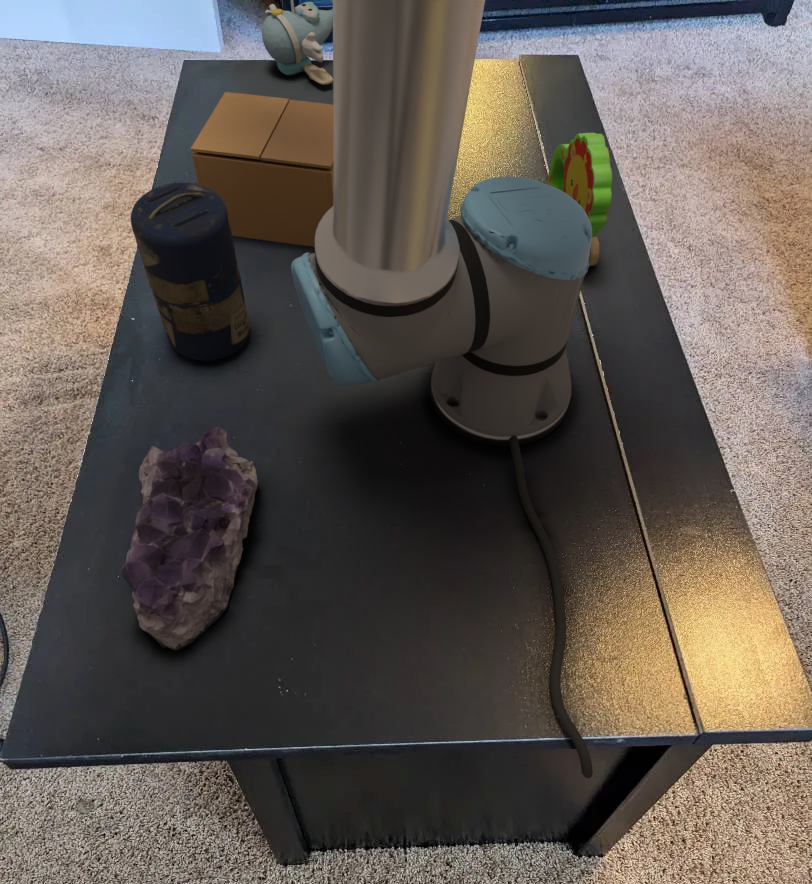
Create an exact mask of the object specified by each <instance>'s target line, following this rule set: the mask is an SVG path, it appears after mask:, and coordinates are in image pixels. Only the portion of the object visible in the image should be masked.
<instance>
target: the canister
mask: <svg viewBox="0 0 812 884" xmlns="http://www.w3.org/2000/svg"><path fill="white" fill-rule="evenodd" d="M130 225H131V230H132V233H133V236H134V239H135V243H136V245H137V249H138V253H139V256H140V259H141V262H142V265H143V268H144V271H145V275H146V276H145V277H146V278H147V281H148V285H149V287H150V289H151V291H152V294H153V298H154V301H155V303H156V307H157V309H158V314H159V316H160V320H161V322H162V323H161V324H162V325H163V329H164V332H165V335H166V338H167V340H168V343H169V344H170V346H171V347H172V348H173V349H174V350H175V351H176V352H177V353H179V355H182V356H183V357H186V358H188V359H191V360H196V361H215V360H221V359H224V358H226V357H229V356H230V355H232V354H235V352H237V351H238V350H240V349H241V348H242V346H244V344H245V343H246V342H247V339H248V337H249V334H250V327H251V325H250V320H249V316H248V312H247V311H248V310H247V306H246V300H245V294H244V289H243V282H242V277H241V272H240V267H239V264H238V258H237V253H236V248H235V243H234V237H233V236H232V233H231V227H230V222H229V219H228V212H227V209H226V206H225V203H224V202H223V200H222V199H221V197H220V196H219V195H218V194H217V193H216V192H214V191H213V190H211V189H210V188H207V187H205V186H202V185H199V184H198V183H193V182H171V183H167V184H163V185H160V186H157V187H153V189H150V190H149V191H147V192H145V193H144V194H143V195H141V196H140V197H139V198H138V199H137V200H136V202H135V203H134V204H133V207H132V210H131V212H130Z"/></svg>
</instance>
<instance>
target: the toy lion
mask: <svg viewBox="0 0 812 884" xmlns="http://www.w3.org/2000/svg"><path fill="white" fill-rule="evenodd" d="M548 169H549V170H548V174H547V180H546V184H548V185H551V186H553V187H555V188H557V189H559V190H561V191H563V192H565V193H566V194H567V195H569V196H570V197H572V198H573V199H574V200H575V201H576V202H577V203H578V204H579V205H580V206H581V207H582V208H583V209H584V211H585V212H586V214H587V216H588V218H589V220H590V223H591V227H592V242H591V248H590V255H589V267H592V266H596V265H597V264H598V262H599V259H600V242H599V238H598V237H597V236H598V235H599V234H600V231H601V230H603V229H604V228H605V227H606V223H607V220H608V212H609V211H610V208H611V205H612V200H613V199H612V198H613V197H612V194H613V193H612V185H613V170H612V167H611V157H610V151H609V148H608V147H607V146H606V139H605V136H604V134H603V133H596V132H583V133H576V134H575V136H574V137H573V139H571V140H570V141H569V143H562V144H561V143H560V144H559V145H557V146H556V148H555V150H554V151H553V154H552V157H551V161H550V165H549V168H548Z"/></svg>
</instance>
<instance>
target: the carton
mask: <svg viewBox="0 0 812 884" xmlns="http://www.w3.org/2000/svg"><path fill="white" fill-rule="evenodd" d="M191 158H192V162H193V167H194V171H195V175H196V176H195V177H196V180H197V184H199V185H202V186H205V187H207V188H210V189H211V190H213V191H214V192H216V193H217V194H218V195H219V196H220V197H221V199H222V200H223V202H224V203H225V206H226V209H227V212H228V219H229V222H230V227H231V233H232V237H238V238H243V239H251V240H261V241H268V242H275V243H281V244H290V245H296V246H303V247H312V248H315V247H314V243H315V234H316V230H317V227H318V224H319V222H320V221H321V219H322V217H323V216H324V215H325V214H326V212H327V211H328V210H329V209H330V208H331V207H333V206H334V188H333V104H329V103H322V102H315V101H305V100H298V99H297V100H296V99H289V103H288V105H287V107H286V109H285V111H284V113H283V115H282V117H281V119H280V121H279V123H278V125H277V126H276V128H275V130H274V132H273V134H272V136H271V138H270V140H269V142H268V144H267V146H266V148H265V150H264V152H263V154H262V156H261V158H260V159H251V158H243V157H234V156H226V155H217V154H209V153H200V152H192V154H191Z"/></svg>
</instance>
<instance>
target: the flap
mask: <svg viewBox="0 0 812 884" xmlns="http://www.w3.org/2000/svg"><path fill="white" fill-rule="evenodd" d="M289 101H290V98H284V97H277V96H267V95H257V94H249V93H241V92H240V93H239V92H230V91H225V92H224V93H223V94H222V96H221V98H220V99H219V101H218V103H217V104H216V106H215V108H214V109H213V111H212V112H211V114H210V116H209V117H208V119H207V121H206V123H205V124H204V126H203V128H202V129H201V130H200V132H199V135H198V136H197V137H196V139H195V140H194V142H193V144H192V145H191V147H190V151H191V152H192V153H193V152H200V153H209V154H217V155H226V156H234V157H243V158H251V159H260V158H261V156H262V154H263V152H264V150H265V148H266V146H267V144H268V142H269V140H270V138H271V136H272V134H273V132H274V130H275V128H276V126H277V125H278V123H279V121H280V119H281V117H282V115H283V113H284V111H285V109H286V107H287V105H288V103H289Z"/></svg>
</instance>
